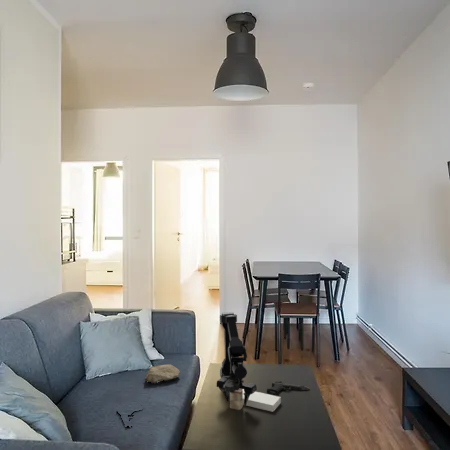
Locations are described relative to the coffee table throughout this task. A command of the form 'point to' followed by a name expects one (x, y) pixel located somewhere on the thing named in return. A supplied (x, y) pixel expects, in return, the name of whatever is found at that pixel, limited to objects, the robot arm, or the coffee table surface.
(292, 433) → the coffee table surface
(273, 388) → the handgun
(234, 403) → the brown and pink block
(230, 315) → the robot arm
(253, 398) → the panel
